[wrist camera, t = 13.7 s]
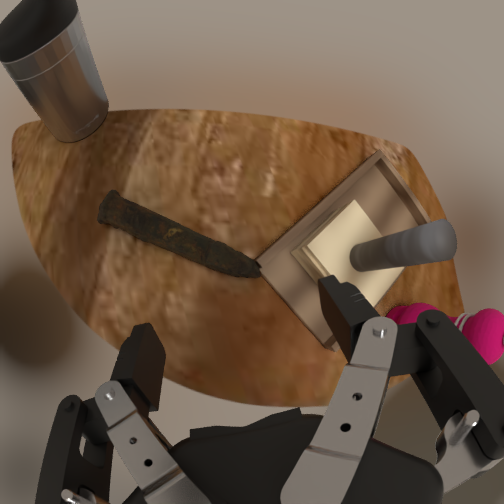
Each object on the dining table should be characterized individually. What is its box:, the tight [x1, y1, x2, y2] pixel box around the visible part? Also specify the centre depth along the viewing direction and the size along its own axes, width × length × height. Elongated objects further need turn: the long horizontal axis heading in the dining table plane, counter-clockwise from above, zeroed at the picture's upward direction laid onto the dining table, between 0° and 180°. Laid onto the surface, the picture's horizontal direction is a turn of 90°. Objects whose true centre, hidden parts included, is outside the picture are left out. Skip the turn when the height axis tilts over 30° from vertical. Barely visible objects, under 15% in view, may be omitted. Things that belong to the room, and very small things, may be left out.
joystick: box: [291, 199, 457, 307], centre depth 25 cm, size 10×8×17 cm
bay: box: [254, 149, 432, 352], centre depth 34 cm, size 14×24×3 cm, turn 132°
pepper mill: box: [386, 303, 504, 365], centre depth 26 cm, size 7×7×20 cm
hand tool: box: [97, 190, 261, 278], centre depth 29 cm, size 19×4×5 cm, turn 65°
